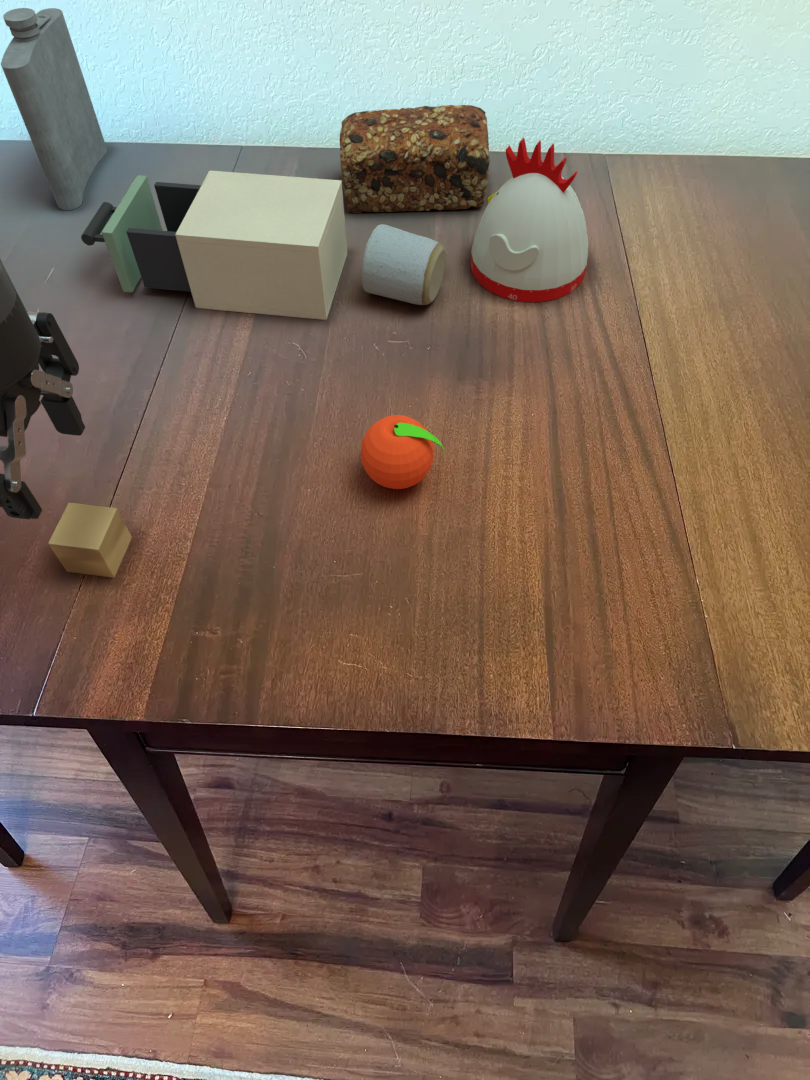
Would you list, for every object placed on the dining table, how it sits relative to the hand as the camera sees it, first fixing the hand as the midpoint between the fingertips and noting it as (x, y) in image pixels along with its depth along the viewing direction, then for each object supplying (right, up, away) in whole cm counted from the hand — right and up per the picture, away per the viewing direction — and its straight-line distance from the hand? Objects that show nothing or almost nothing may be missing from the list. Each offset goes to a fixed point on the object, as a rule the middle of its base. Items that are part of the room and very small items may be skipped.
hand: (51, 471), depth 61 cm
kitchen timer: (+43, +28, +34) cm, 61 cm away
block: (0, -7, +10) cm, 12 cm away
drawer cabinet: (+12, +26, +32) cm, 43 cm away
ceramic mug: (+28, +25, +31) cm, 49 cm away
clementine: (+28, +1, +15) cm, 31 cm away
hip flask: (-17, +44, +46) cm, 66 cm away
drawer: (+1, +28, +33) cm, 43 cm away
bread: (+29, +41, +43) cm, 66 cm away
